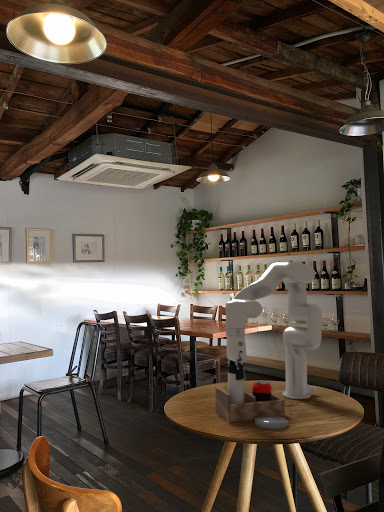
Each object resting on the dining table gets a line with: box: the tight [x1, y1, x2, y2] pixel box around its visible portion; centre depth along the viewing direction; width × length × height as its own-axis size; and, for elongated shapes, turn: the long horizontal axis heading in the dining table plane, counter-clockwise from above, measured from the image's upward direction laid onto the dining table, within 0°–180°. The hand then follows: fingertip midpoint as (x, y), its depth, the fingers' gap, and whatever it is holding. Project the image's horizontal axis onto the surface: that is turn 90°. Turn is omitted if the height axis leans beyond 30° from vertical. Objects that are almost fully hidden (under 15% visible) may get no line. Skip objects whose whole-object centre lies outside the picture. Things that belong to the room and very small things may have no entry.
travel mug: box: [227, 363, 245, 405], centre depth 171 cm, size 6×7×20 cm
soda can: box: [251, 380, 272, 402], centre depth 174 cm, size 8×8×12 cm
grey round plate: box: [254, 415, 289, 431], centre depth 159 cm, size 12×12×2 cm
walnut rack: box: [215, 386, 286, 423], centre depth 172 cm, size 24×13×10 cm, turn 108°
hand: (235, 377), depth 171 cm, fingers closed on travel mug, 6 cm apart
